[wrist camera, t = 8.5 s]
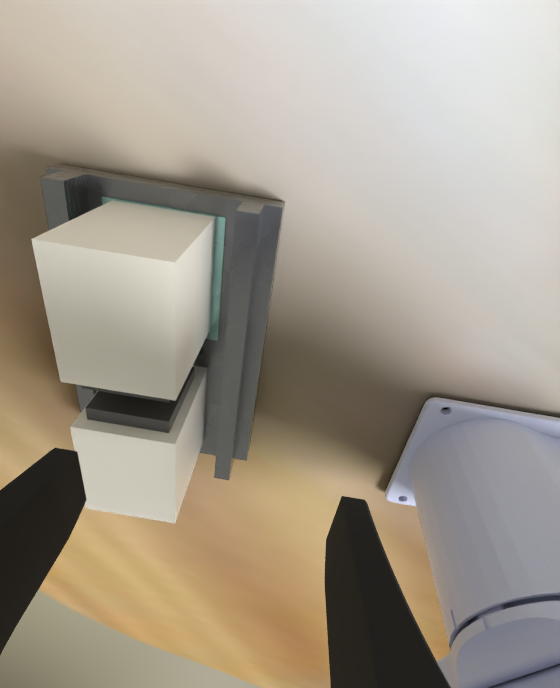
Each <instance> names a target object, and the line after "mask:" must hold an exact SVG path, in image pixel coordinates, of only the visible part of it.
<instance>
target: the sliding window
mask: <svg viewBox="0 0 560 688" xmlns="http://www.w3.org/2000/svg"><path fill="white" fill-rule="evenodd" d="M46 171H47V175H46V176H43V177H40V179H41V185H42V191H43V197H44V203H45V209H46V214H47V220H48V226H49V230H51V229H53V228H56V227H58V226H60V225H62V224H64V223H66V222H68V221H70V220H72V219H74V218H77V217H79V216H81V215H83V214H85V213H87V212H89V211H91V210H93V209H95V208H97V207H100V206H102V205H104V204H106V203H108V202H110V201H112V200H114V201H120V202H127V203H133V204H139V205H145V206H151V207H157V208H163V209H169V210H176V211H182V212H188V213H194V214H200V215H206V216H212V217H216V223H215V243H214V264H213V284H212V305H211V325H210V331H209V333H208V335H207V337H206V339H205V341H204V343H203V345H202V347H201V349H200V351H199V353H198V355H197V358H196V360H195V362H194V364H193V365H194V366H200V367H206V368H208V369H207V387H206V405H205V423H204V441H203V444H202V447H201V450H200V452H199V453H205V454H211V455H216V462H215V475H214V478H219V479H225V480H229V478H230V474H231V470H232V466H233V462H234V458H235V459H241V460H247V456H248V451H249V445H250V439H251V432H252V425H253V418H254V411H255V404H256V397H257V390H258V383H259V376H260V369H261V363H262V356H263V349H264V342H265V335H266V328H267V321H268V314H269V307H270V300H271V293H272V287H273V280H274V273H275V266H276V259H277V252H278V245H279V238H280V231H281V224H282V218H283V211H284V204H285V202H283V201H277V200H271V199H265V198H259V197H253V196H247V195H241V194H235V193H230V192H224V191H218V190H212V189H206V188H200V187H194V186H188V185H182V184H176V183H171V182H165V181H159V180H153V179H147V178H141V177H135V176H129V175H123V174H118V173H112V172H106V171H100V170H94V169H88V168H82V167H76V166H70V165H65V164H58V165H54V166H50V167H46ZM76 389H77V395H78V400H79V406H80V412H82V410H83V409H84V408H85V407H86V405H87V404H88V403H89V401H90V400H91V399H92V397H93V396H94V395H95V394H96V392H97V391H96V390H89V389H83V388H82V386H81V385H77V384H76Z"/></svg>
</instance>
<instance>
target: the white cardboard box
mask: <svg viewBox="0 0 560 688" xmlns="http://www.w3.org/2000/svg"><path fill="white" fill-rule="evenodd" d="M215 223H216V217H212V216H206V215H200V214H194V213H188V212H182V211H176V210H169V209H163V208H157V207H151V206H145V205H139V204H133V203H127V202H120V201H114V200H112V201H110V202H108V203H106V204H104V205H102V206H100V207H97V208H95V209H93V210H91V211H89V212H87V213H85V214H83V215H81V216H79V217H77V218H74V219H72V220H70V221H68V222H66V223H64V224H62V225H60V226H58V227H56V228H53V229H51V230H49V231H47V232H45V233H43V234H41V235H39V236H37V237H35V238H33V239H31V240H32V245H33V250H34V255H35V260H36V265H37V269H38V274H39V279H40V284H41V289H42V294H43V299H44V304H45V308H46V313H47V318H48V323H49V328H50V333H51V338H52V343H53V348H54V352H55V357H56V362H57V367H58V372H59V377H60V382H65V383H71V384H77V385H81V386H82V388H83V389H89V390H96V391H102V392H108V393H114V394H120V395H126V396H132V397H138V398H144V399H150V400H157V401H163V402H170V400H175V401H176V399H177V397H178V395H179V393H180V391H181V389H182V387H183V385H184V382H185V380H186V378H187V376H188V374H189V372H190V370H191V368H192V366H193V364H194V362H195V360H196V358H197V355H198V353H199V351H200V349H201V347H202V345H203V343H204V341H205V339H206V337H207V335H208V333H209V331H210V325H211V305H212V284H213V264H214V243H215Z"/></svg>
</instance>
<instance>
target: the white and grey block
mask: <svg viewBox="0 0 560 688" xmlns="http://www.w3.org/2000/svg"><path fill="white" fill-rule="evenodd" d="M207 369H208V368H206V367H200V366H194V365H193V366H192V368H191V370H190V372H189V374H188V376H187V378H186V380H185V382H184V385H183V387H182V389H181V391H180V393H179V395H178V397H177V399H176V401H175V400H170V402H163V401H157V400H150V399H144V398H138V397H132V396H126V395H120V394H114V393H108V392H102V391H97V392H96V394H95V395H94V396H93V397H92V399H91V400H90V401H89V403H88V404H87V405H86V407H85V408H84V409H83V410H82V412H81V413H80V414H79V416H78V417H77V418H76V420H75V421H74V422H73V423H72V425H71V426H70V429H71V435H72V440H73V445H74V450H75V451H77V452H78V457H79V463H80V468H81V473H82V478H83V484H84V489H85V494H86V499H87V500H86V502H85V506H86V508H87V509H92V510H98V511H104V512H110V513H116V514H122V515H128V516H134V517H140V518H146V519H152V520H158V521H164V522H170V523H175V522H176V519H177V516H178V514H179V511H180V508H181V505H182V502H183V499H184V496H185V493H186V490H187V487H188V484H189V482H190V479H191V476H192V473H193V470H194V467H195V464H196V461H197V458H198V455H199V452H200V450H201V447H202V444H203V441H204V423H205V405H206V387H207Z"/></svg>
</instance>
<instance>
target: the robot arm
mask: <svg viewBox="0 0 560 688" xmlns="http://www.w3.org/2000/svg"><path fill="white" fill-rule="evenodd" d="M445 407H449V408H448V409H446V410H441V409H442V408H445ZM385 496H386V499H387V500H388V501H390V502H394V503H400V504H406V505H412V506H416V507H417V511H418V515H419V520H420V524H421V528H422V532H423V537H424V541H425V545H426V549H427V553H428V558H429V562H430V566H431V570H432V574H433V579H434V583H435V587H436V591H437V595H438V600H439V604H440V608H441V612H442V617H443V621H444V625H445V629H446V633H447V638H448V642H449V646H450V649H451V650H450V653H449V654H448V655H446V656H445V657H444V658H442V659H440V660H438V661H436V660H435V658H434V656H433V654H432V652H431V650H430V648H429V646H428V644H427V642H426V641H425V639H424V637H423V635H422V633H421V631H420V629H419V626H418V624H417V622H416V620H415V618H414V616H413V614H412V612H411V610H410V608H409V606H408V604H407V602H406V599H405V597H404V595H403V593H402V591H401V588H400V586H399V584H398V582H397V579H396V577H395V575H394V573H393V570H392V568H391V566H390V563H389V561H388V558H387V556H386V553H385V551H384V548H383V546H382V543H381V541H380V538H379V536H378V533H377V530H376V528H375V525H374V522H373V519H372V516H371V513H370V510H369V507H368V504H367V502H366V501H365V500H362V499H356V498H350V497H344V496H342V497H341V500H340V503H339V506H338V508H337V511H336V514H335V517H334V520H333V522H332V525H331V528H330V531H329V534H328V536H327V539H326V557H325V596H326V613H327V630H328V646H329V663H330V679H331V688H560V418H557V417H551V416H545V415H539V414H533V413H527V412H521V411H515V410H509V409H503V408H498V407H492V406H486V405H480V404H474V403H468V402H462V401H456V400H450V399H444V398H438V397H434V398H430V399H428V400H427V401H426V402H425V404H424V406H423V408H422V411H421V413H420V415H419V417H418V420H417V422H416V424H415V426H414V428H413V431H412V433H411V435H410V437H409V440H408V442H407V444H406V446H405V449H404V451H403V453H402V455H401V457H400V460H399V462H398V464H397V466H396V469H395V471H394V473H393V475H392V478H391V480H390V482H389V484H388V486H387V489H386V491H385ZM86 500H87V499H86V494H85V489H84V484H83V478H82V473H81V468H80V463H79V457H78V452H77V451H71V450H65V449H59V448H54V449H53V450H51V451H50V452H49V453H47V454H46V455H45V456H43V457H42V458H41V459H40V460H38V461H37V462H36V463H34V464H33V465H32V466H31V467H29V468H28V469H27V470H26V471H24V472H23V473H22V474H21V475H19V476H18V477H17V478H15V479H14V480H13V481H12V482H10V483H9V484H8V485H6V486H5V487H4V488H3V489H1V490H0V654H1V653H2V650H3V649H4V647H5V645H6V643H7V641H8V640H9V638H10V636H11V634H12V632H13V631H14V629H15V627H16V625H17V624H18V622H19V620H20V619H21V617H22V615H23V614H24V612H25V610H26V609H27V607H28V605H29V604H30V602H31V600H32V599H33V597H34V596H35V594H36V592H37V591H38V589H39V587H40V586H41V584H42V582H43V581H44V579H45V577H46V576H47V574H48V572H49V571H50V569H51V567H52V566H53V564H54V562H55V561H56V559H57V557H58V556H59V554H60V552H61V551H62V549H63V547H64V545H65V544H66V542H67V540H68V539H69V537H70V535H71V532H72V530H73V528H74V526H75V524H76V522H77V520H78V518H79V515H80V513H81V511H82V509H83V506H84V504H85V502H86Z"/></svg>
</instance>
